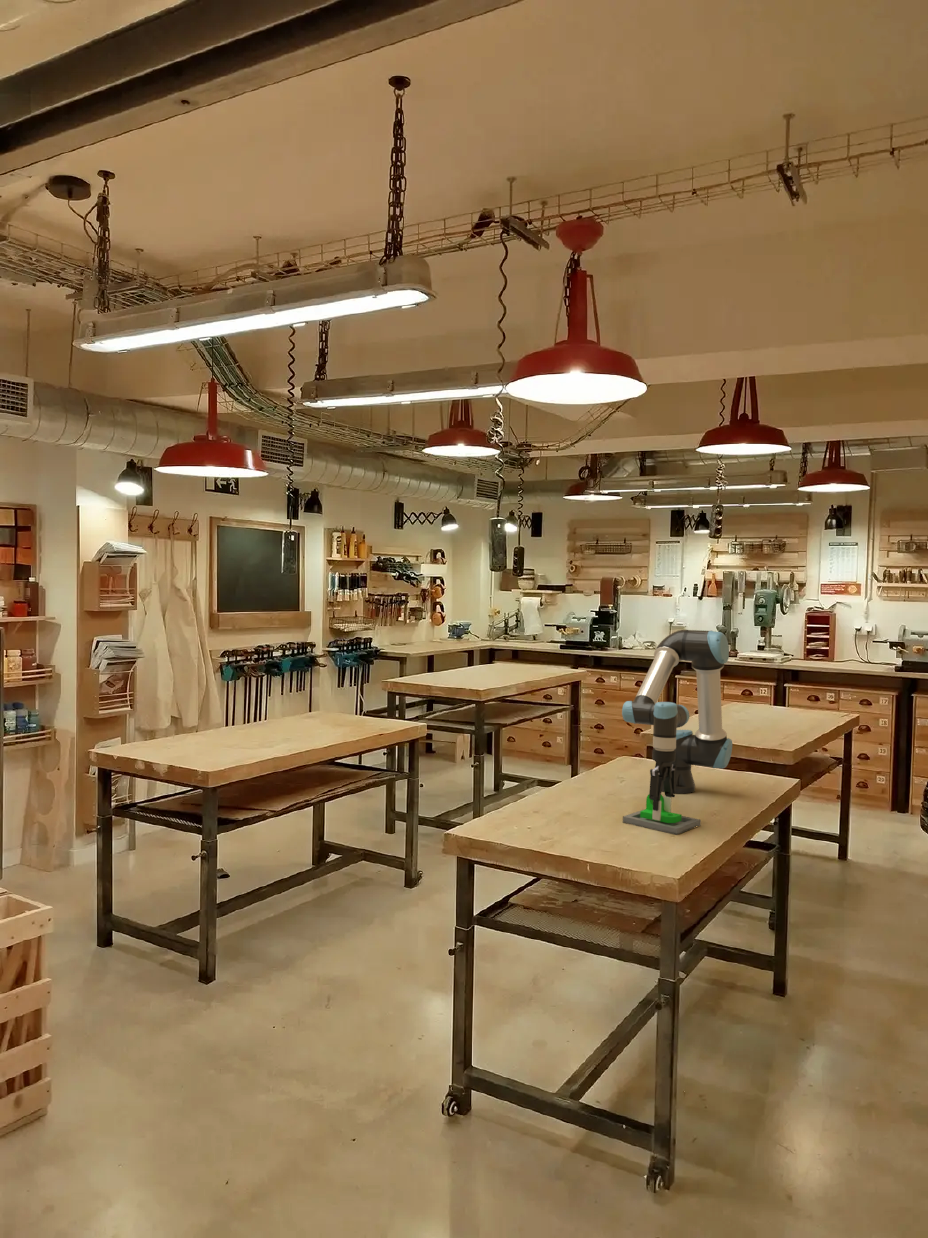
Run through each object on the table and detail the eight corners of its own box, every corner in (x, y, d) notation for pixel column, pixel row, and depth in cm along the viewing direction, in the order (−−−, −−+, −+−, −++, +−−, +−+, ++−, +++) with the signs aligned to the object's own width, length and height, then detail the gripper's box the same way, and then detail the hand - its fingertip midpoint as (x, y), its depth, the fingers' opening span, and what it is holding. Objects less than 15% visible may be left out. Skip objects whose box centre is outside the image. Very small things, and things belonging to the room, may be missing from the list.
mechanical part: (640, 817, 293) (640, 793, 293) (648, 813, 298) (649, 790, 298) (673, 824, 286) (673, 800, 285) (681, 820, 290) (682, 796, 290)
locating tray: (647, 814, 304) (647, 808, 304) (700, 825, 291) (700, 819, 291) (622, 822, 292) (622, 816, 292) (676, 835, 279) (677, 828, 279)
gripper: (668, 744, 300) (665, 810, 301) (639, 750, 286) (636, 821, 287) (688, 747, 295) (685, 815, 296) (659, 754, 281) (657, 825, 282)
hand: (661, 817), depth 292 cm, fingers closed on mechanical part, 6 cm apart
